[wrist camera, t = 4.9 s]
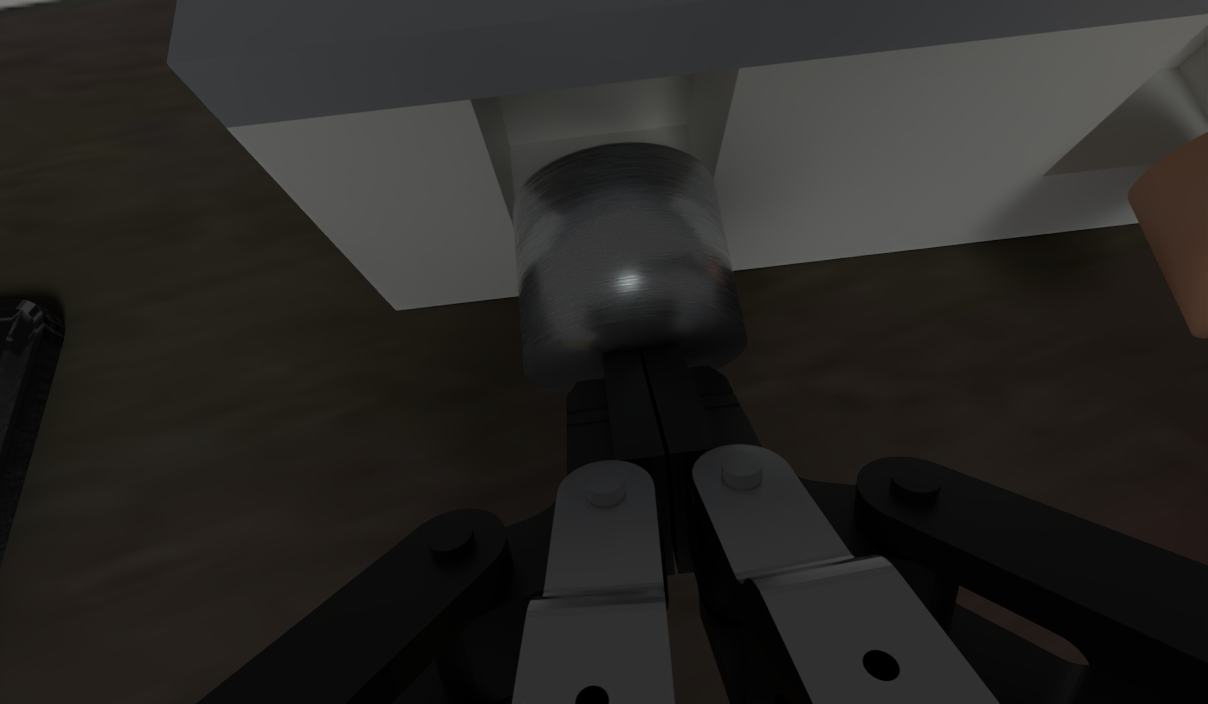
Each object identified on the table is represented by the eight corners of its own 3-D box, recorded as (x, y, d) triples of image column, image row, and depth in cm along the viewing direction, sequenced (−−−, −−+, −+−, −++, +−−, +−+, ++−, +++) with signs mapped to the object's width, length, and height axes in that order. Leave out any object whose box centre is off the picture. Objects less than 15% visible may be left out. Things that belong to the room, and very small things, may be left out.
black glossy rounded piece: (727, 379, 14) (770, 303, 10) (540, 402, 14) (503, 335, 10) (701, 248, 15) (731, 129, 11) (529, 268, 15) (492, 157, 11)
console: (1260, 208, 19) (1886, -135, 10) (395, 310, 19) (166, 64, 9) (1133, -19, 22) (1506, -440, 13) (397, 67, 22) (227, -297, 13)
